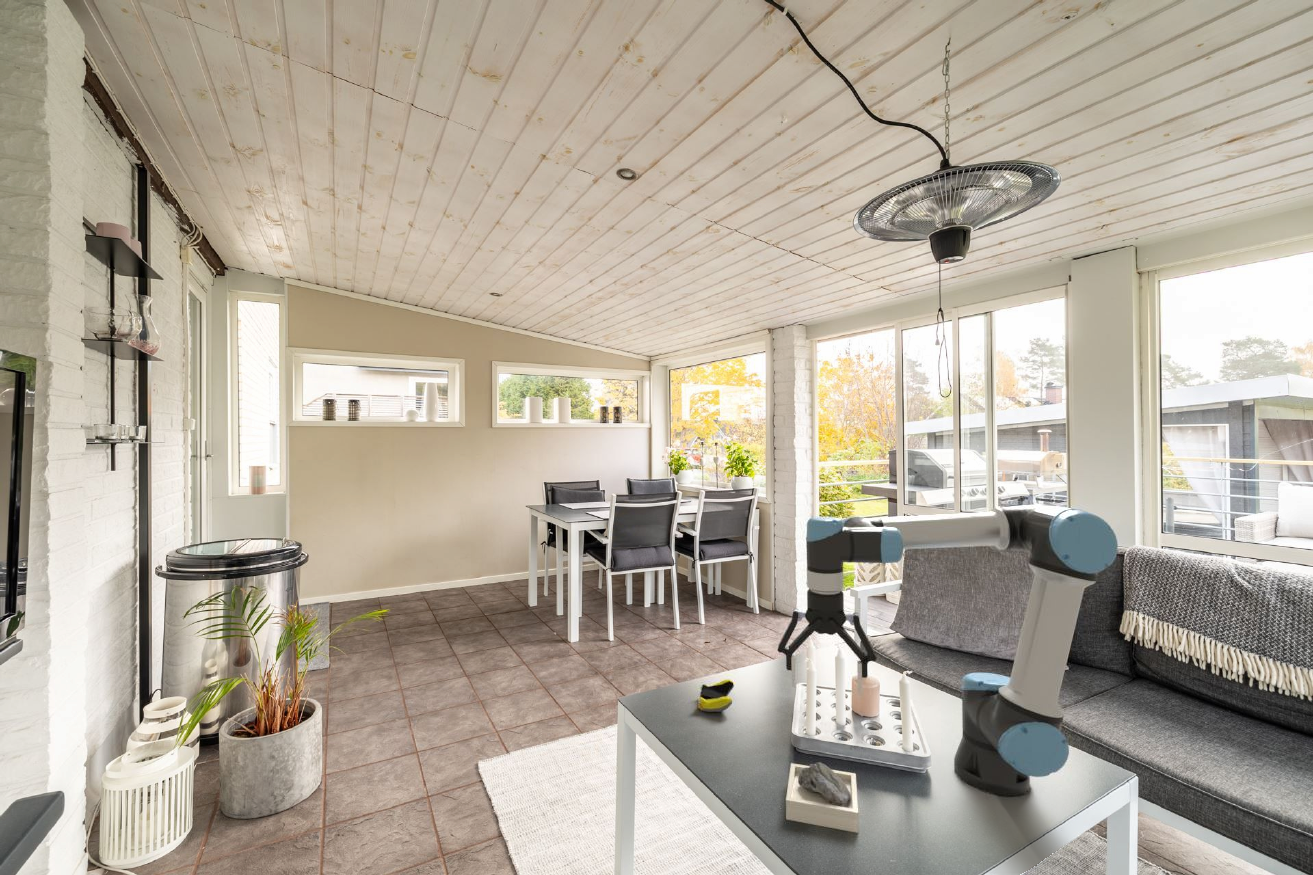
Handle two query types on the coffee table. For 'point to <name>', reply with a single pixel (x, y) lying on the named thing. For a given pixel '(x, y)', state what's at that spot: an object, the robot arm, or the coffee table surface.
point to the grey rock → (825, 784)
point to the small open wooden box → (821, 803)
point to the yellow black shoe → (715, 696)
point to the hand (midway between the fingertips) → (826, 688)
